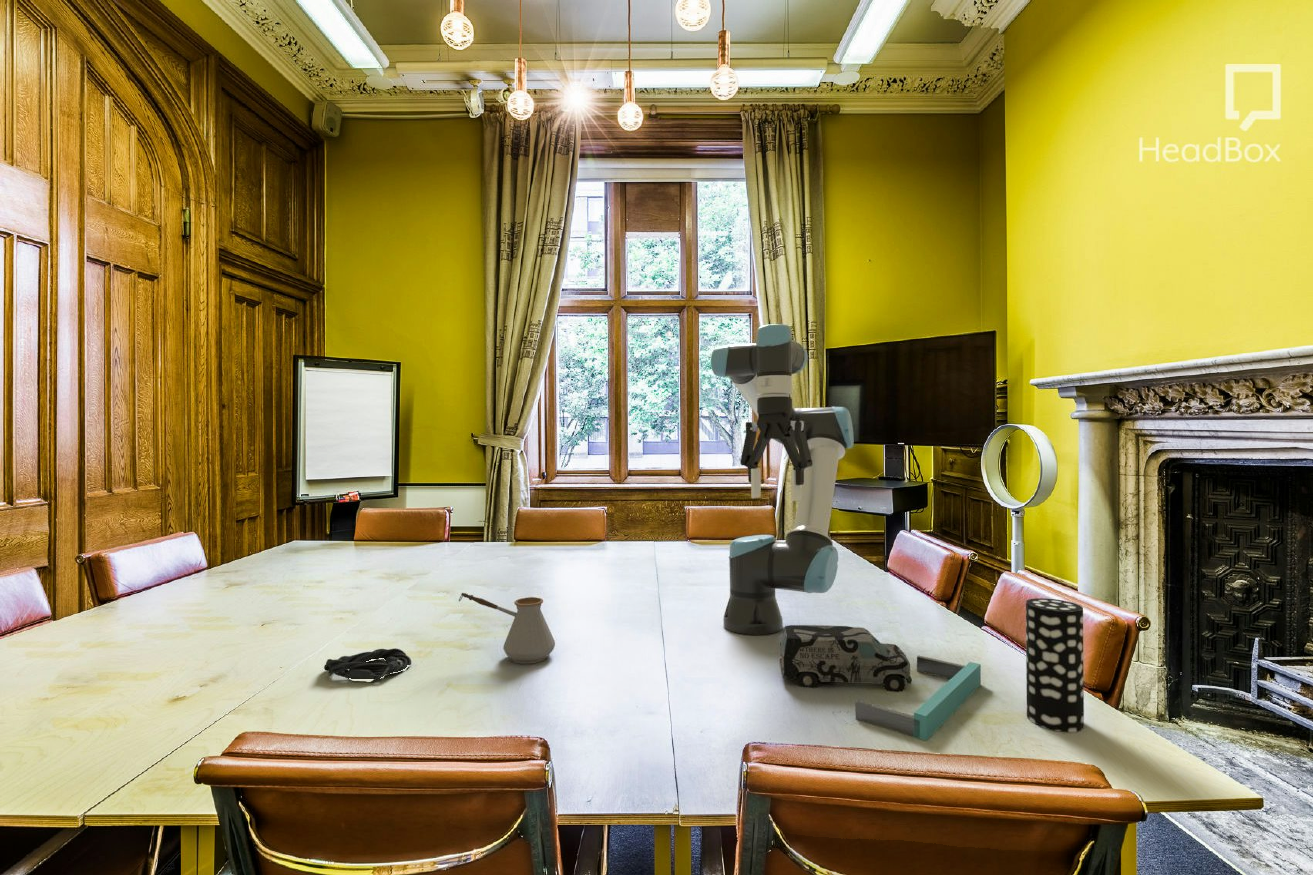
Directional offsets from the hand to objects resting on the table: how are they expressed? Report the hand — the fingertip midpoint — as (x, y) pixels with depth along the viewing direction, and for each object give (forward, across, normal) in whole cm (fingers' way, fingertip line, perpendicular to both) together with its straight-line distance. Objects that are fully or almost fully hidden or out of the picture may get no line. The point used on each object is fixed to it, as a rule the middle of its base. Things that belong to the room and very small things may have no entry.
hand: (775, 498), depth 137 cm
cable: (+36, -64, -61) cm, 96 cm away
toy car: (+36, +15, 0) cm, 39 cm away
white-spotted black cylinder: (+36, +51, +6) cm, 63 cm away
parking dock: (+36, +32, 0) cm, 48 cm away
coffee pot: (+36, -47, -38) cm, 70 cm away
